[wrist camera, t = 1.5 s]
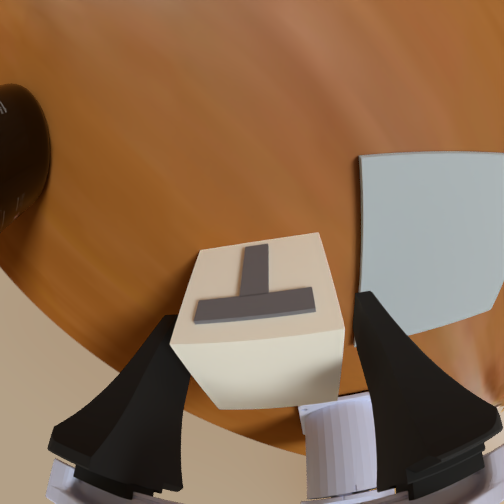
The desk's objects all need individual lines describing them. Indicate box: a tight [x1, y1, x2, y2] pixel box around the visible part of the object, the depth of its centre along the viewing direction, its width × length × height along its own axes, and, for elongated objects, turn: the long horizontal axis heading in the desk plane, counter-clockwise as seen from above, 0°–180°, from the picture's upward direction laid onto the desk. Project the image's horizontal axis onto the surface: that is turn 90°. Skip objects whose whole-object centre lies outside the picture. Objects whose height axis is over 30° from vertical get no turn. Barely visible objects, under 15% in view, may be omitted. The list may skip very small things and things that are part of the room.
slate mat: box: [354, 151, 504, 347], centre depth 11 cm, size 11×11×1 cm
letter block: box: [169, 232, 345, 409], centre depth 10 cm, size 5×5×5 cm
